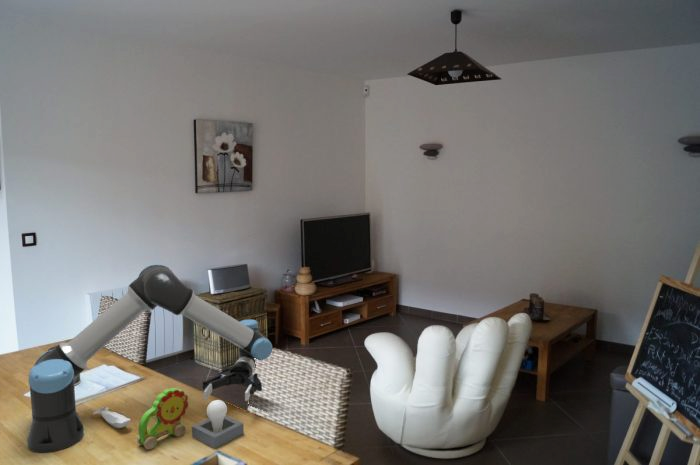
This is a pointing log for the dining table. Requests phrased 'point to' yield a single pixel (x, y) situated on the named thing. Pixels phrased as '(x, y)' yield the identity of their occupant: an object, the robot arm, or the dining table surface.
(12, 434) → the dining table surface
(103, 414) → the white fish figurine
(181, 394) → the toy lion
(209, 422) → the frame
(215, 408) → the lightbulb
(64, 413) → the robot arm
